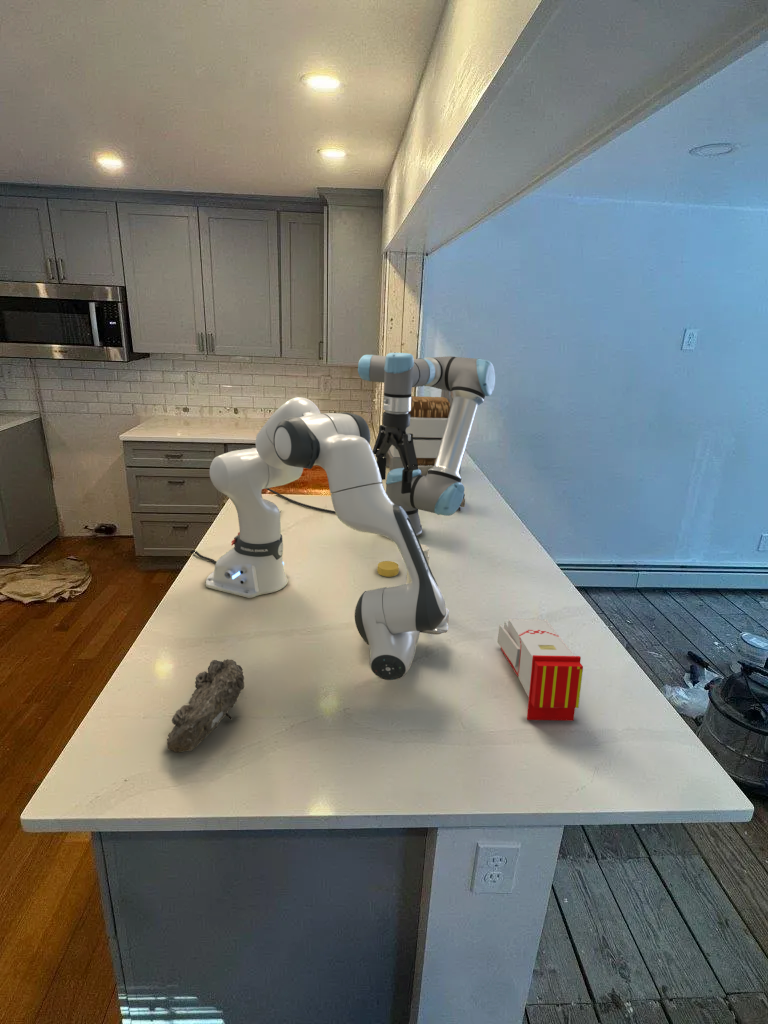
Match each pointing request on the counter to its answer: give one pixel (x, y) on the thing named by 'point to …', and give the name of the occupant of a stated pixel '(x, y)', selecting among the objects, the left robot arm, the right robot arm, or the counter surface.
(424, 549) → the jar
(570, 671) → the toy
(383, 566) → the lid
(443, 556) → the counter surface
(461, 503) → the figurine character
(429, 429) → the white slatted box
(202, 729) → the fossil
